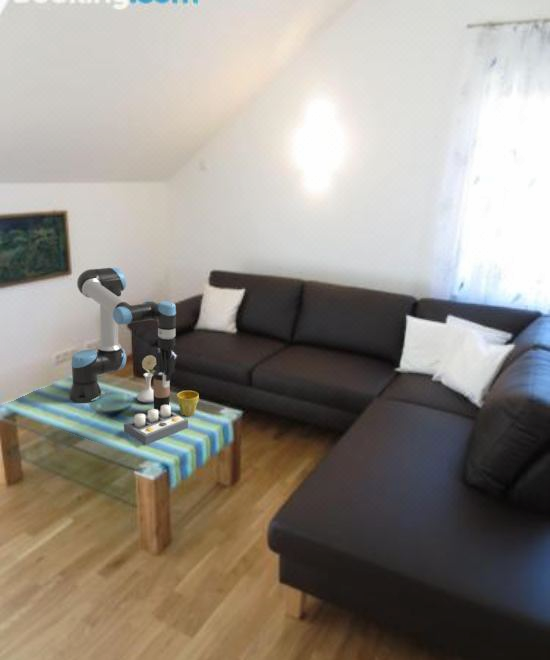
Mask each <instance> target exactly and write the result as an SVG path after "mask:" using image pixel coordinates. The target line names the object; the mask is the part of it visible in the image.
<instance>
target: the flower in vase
mask: <svg viewBox="0 0 550 660" xmlns="http://www.w3.org/2000/svg"><path fill="white" fill-rule="evenodd" d="M141 365H142V368H143V370H145V373H143V377H144V380H145V388H144V389H143V390H141V391H139V393H137V396H136V399H137V400H138V401H139V402H142V403H154V398H153V391H154V388H152V387H151V383H152V382H151V381H152V378H153V377H154V372H155V371H156V370H155V369H154V368H155V367H156V365H157V358H156V357H155V356H154V355H152V354H150V355H147V356H145V357H144V358H143V360H142V361H141Z"/></svg>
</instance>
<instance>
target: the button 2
mask: <svg viewBox="0 0 550 660" xmlns="http://www.w3.org/2000/svg"><path fill="white" fill-rule="evenodd" d="M147 415H148V422H149V423H151V424H153V423H156V422H158V410H157V409H154V408H151V409H150V408H149V409H148V410H147Z"/></svg>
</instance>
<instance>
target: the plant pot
mask: <svg viewBox="0 0 550 660" xmlns="http://www.w3.org/2000/svg"><path fill="white" fill-rule="evenodd" d="M199 396H200V395H199V392H197V391H194V390H182V391H180V392H178V393H177V395H176V402H177V403H178V407H179V410H180V415H183V416H184V415H185V416H184V417H191V416H194V414H195V413H196V408H197V404H198V403H199V401H200V397H199Z"/></svg>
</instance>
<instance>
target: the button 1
mask: <svg viewBox="0 0 550 660" xmlns="http://www.w3.org/2000/svg"><path fill="white" fill-rule="evenodd" d="M145 416H146V414H145V413H136V414H134V420H135V427H136V428H138V429H140V428H143V427H145Z"/></svg>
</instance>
